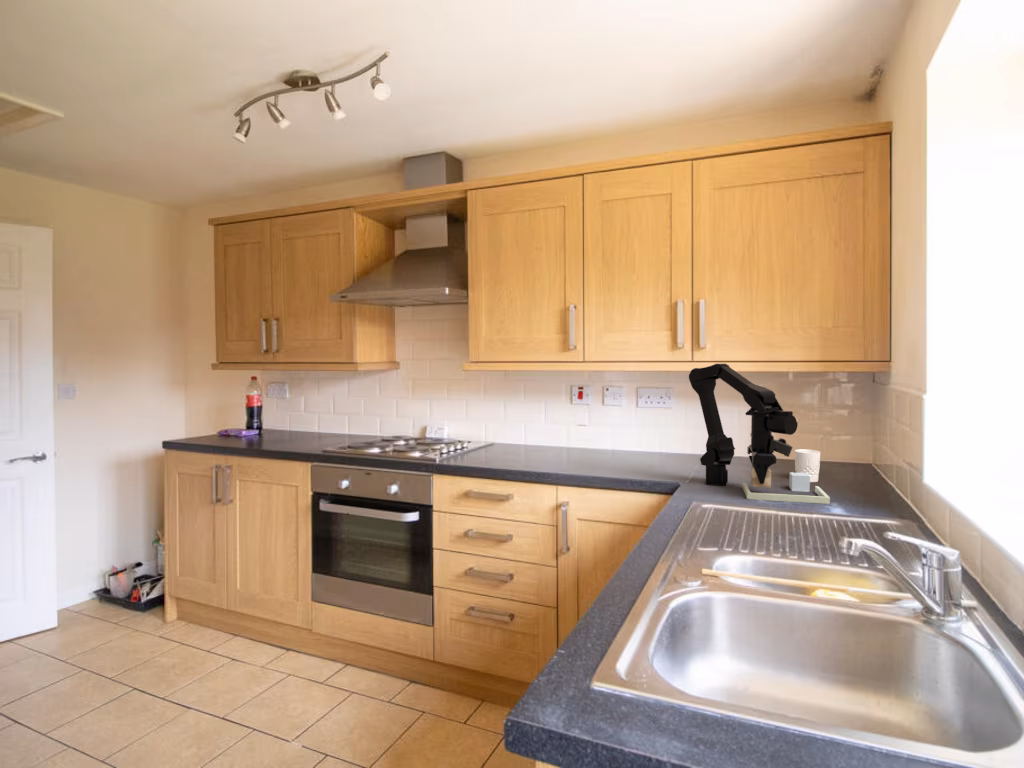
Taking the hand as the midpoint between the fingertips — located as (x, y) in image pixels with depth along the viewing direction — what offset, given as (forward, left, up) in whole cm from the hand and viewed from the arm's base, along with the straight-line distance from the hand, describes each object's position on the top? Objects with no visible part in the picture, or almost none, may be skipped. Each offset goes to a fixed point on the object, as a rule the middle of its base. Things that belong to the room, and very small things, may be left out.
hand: (760, 481), depth 177 cm
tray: (+7, 0, -4) cm, 8 cm away
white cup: (+18, +26, -4) cm, 32 cm away
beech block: (0, 0, -1) cm, 1 cm away
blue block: (+13, +10, -4) cm, 17 cm away
